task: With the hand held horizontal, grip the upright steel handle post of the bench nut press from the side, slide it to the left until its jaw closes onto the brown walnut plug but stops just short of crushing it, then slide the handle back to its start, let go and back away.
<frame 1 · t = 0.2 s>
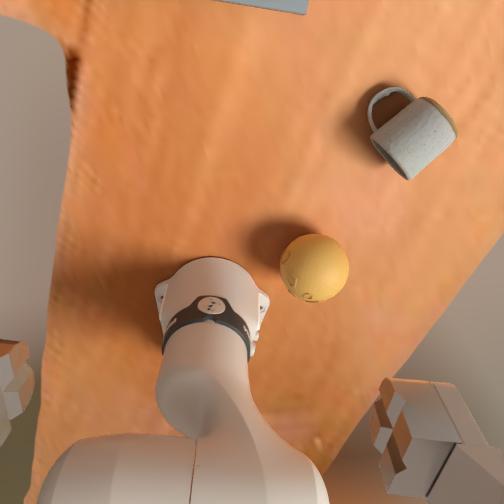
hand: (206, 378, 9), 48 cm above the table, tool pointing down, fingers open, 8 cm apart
ceramic mug: (395, 125, 54), on the table
stress ball: (308, 250, 62), on the table
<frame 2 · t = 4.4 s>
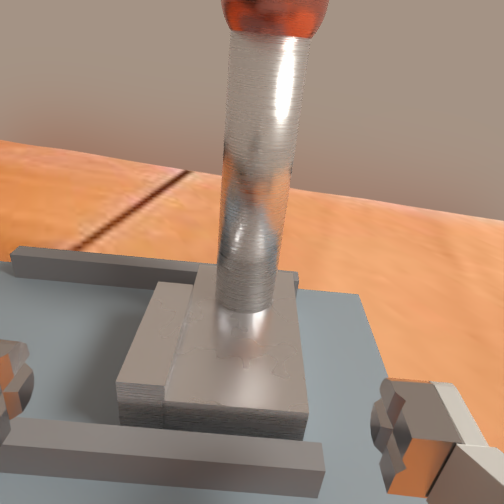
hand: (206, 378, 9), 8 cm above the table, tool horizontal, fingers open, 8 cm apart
lever: (235, 190, 14), point 10 cm above the table, slide at 0.0 cm
press bed: (100, 405, 18), on the table
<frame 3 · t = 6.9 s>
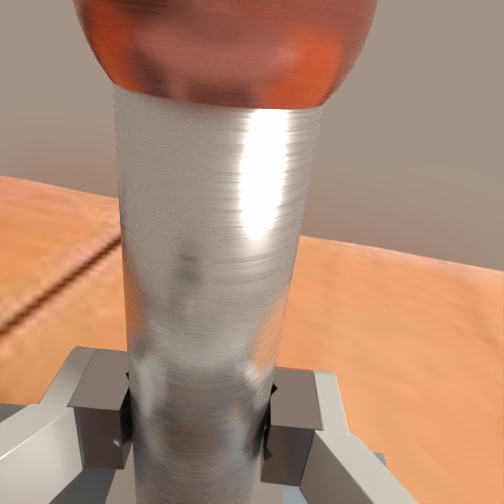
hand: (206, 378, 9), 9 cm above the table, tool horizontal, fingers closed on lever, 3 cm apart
lever: (136, 455, 6), point 10 cm above the table, slide at 0.0 cm, touching gripper
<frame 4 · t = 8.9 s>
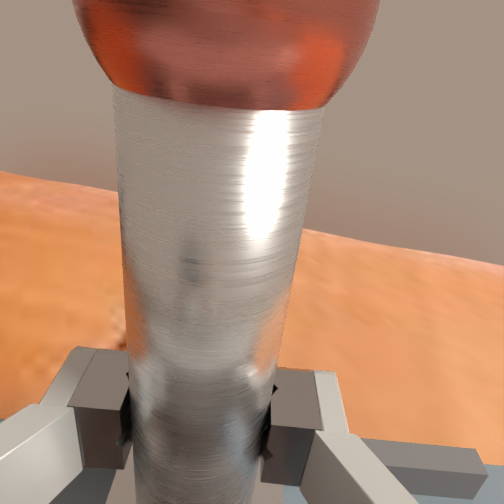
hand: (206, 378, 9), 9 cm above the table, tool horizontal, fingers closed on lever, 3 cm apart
lever: (136, 458, 6), point 10 cm above the table, slide at 6.9 cm, touching gripper
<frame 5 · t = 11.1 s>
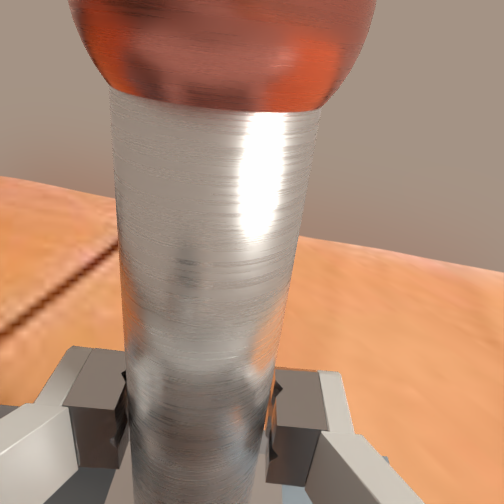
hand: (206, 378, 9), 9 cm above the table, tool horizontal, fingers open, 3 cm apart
lever: (133, 459, 6), point 10 cm above the table, slide at 0.2 cm
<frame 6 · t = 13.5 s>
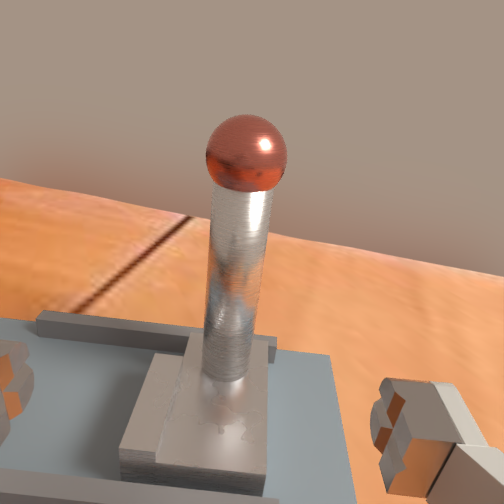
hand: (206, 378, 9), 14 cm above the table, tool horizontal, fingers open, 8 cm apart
lever: (214, 296, 19), point 10 cm above the table, slide at 0.2 cm
press bed: (108, 455, 22), on the table
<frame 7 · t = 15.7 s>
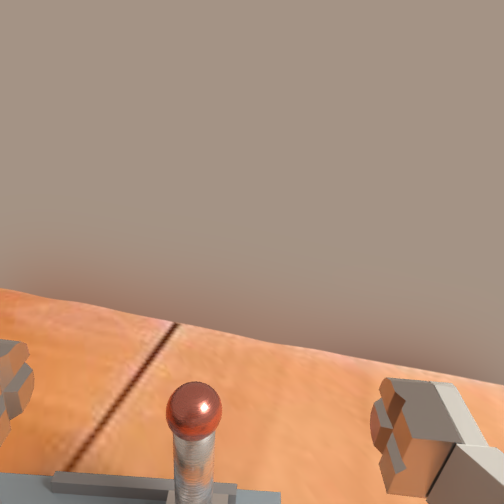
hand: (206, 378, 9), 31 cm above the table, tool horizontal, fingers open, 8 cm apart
lever: (178, 500, 27), point 10 cm above the table, slide at 0.2 cm
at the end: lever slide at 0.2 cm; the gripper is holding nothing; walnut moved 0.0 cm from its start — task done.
